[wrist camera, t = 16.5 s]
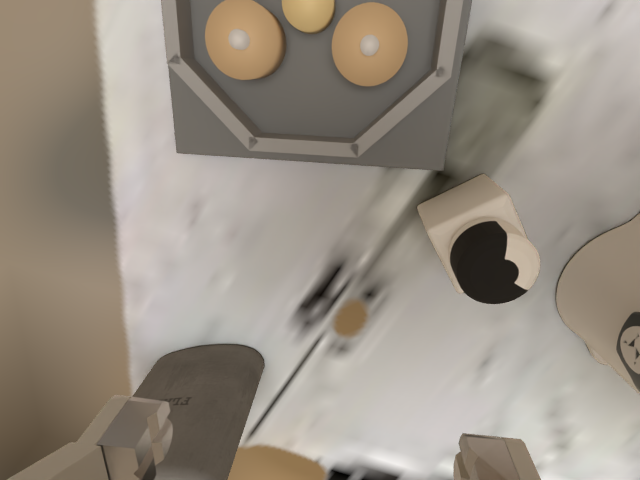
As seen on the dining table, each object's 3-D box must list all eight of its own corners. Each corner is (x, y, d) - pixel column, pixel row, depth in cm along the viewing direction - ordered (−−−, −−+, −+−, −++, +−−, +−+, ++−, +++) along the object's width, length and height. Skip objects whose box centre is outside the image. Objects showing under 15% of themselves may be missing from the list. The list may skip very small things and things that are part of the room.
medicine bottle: (443, 261, 42) (472, 328, 31) (415, 205, 40) (435, 255, 29) (510, 232, 40) (566, 293, 29) (484, 171, 38) (533, 212, 27)
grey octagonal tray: (501, -194, 28) (535, -258, 23) (441, 168, 39) (454, 184, 33) (149, -195, 30) (101, -254, 25) (180, 151, 40) (152, 163, 35)
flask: (256, 337, 49) (192, 497, 30) (269, 374, 51) (217, 545, 32) (147, 352, 51) (28, 509, 33) (164, 387, 53) (60, 553, 35)
